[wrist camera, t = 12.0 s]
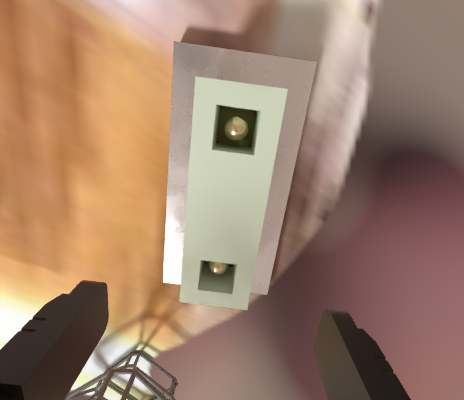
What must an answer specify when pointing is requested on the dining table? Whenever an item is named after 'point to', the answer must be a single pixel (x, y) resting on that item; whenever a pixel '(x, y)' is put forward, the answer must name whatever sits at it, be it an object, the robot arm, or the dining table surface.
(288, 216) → the dining table surface
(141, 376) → the geometric lantern
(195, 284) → the bar
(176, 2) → the dining table surface
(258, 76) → the board with brass pegs
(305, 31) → the dining table surface
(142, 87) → the dining table surface
